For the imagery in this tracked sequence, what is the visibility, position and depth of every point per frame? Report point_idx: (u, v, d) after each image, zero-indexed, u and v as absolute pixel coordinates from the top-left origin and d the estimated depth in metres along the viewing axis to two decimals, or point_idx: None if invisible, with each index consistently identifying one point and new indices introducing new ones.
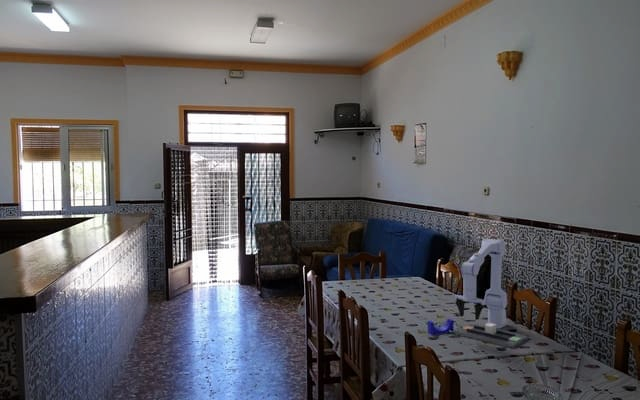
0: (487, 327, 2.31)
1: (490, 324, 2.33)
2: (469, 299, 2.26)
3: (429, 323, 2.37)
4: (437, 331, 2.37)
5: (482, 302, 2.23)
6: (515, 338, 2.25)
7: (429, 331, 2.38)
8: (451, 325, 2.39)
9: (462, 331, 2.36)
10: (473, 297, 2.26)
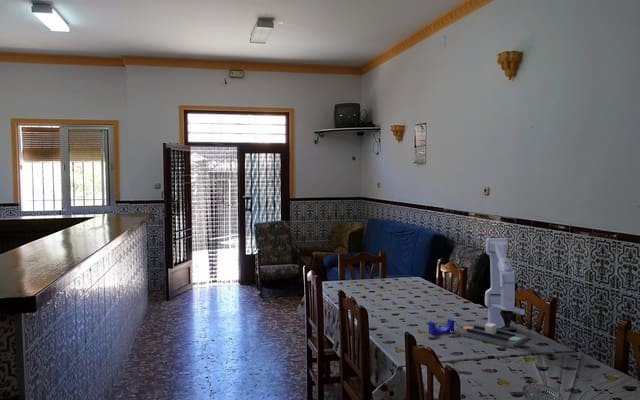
0: (487, 327, 2.31)
1: (490, 324, 2.33)
2: (508, 308, 2.23)
3: (430, 323, 2.37)
4: (438, 331, 2.37)
5: (521, 311, 2.21)
6: (515, 338, 2.25)
7: (430, 331, 2.37)
8: (452, 325, 2.39)
9: (462, 331, 2.36)
10: (512, 306, 2.24)
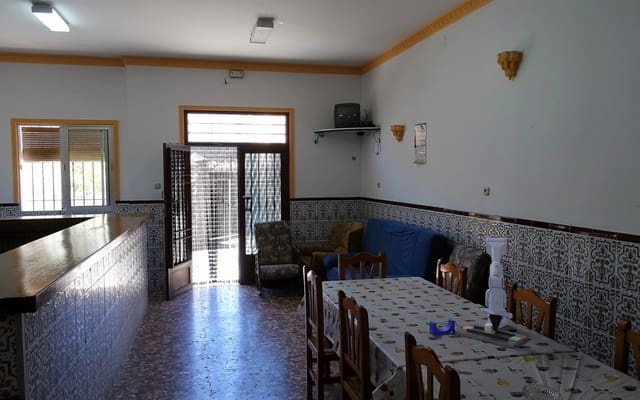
0: (486, 327, 2.31)
1: (489, 324, 2.33)
2: (496, 312, 2.28)
3: (431, 324, 2.36)
4: (439, 332, 2.36)
5: (509, 315, 2.25)
6: (515, 338, 2.25)
7: (431, 332, 2.36)
8: (453, 325, 2.38)
9: (462, 331, 2.36)
10: (500, 310, 2.28)
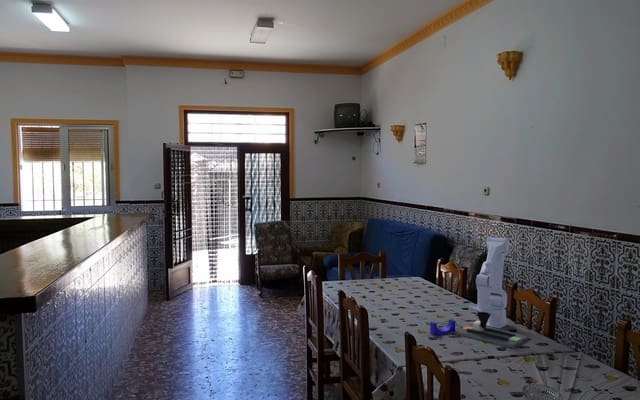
0: (475, 324, 2.35)
1: (478, 321, 2.37)
2: (483, 310, 2.32)
3: (432, 324, 2.36)
4: (440, 332, 2.36)
5: (496, 313, 2.29)
6: (515, 338, 2.25)
7: (432, 332, 2.36)
8: (453, 326, 2.38)
9: (462, 331, 2.36)
10: (487, 308, 2.32)
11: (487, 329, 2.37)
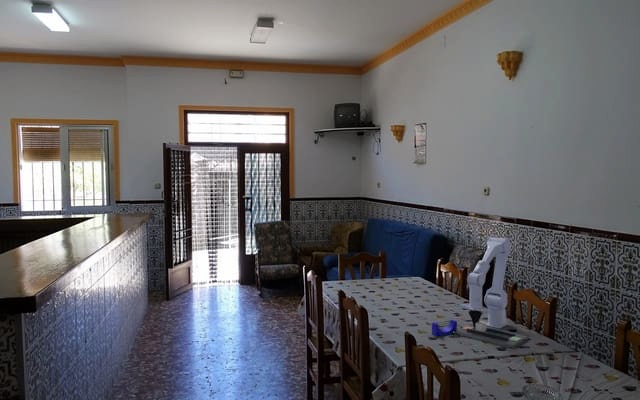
0: (477, 325, 2.34)
1: (480, 322, 2.36)
2: (475, 308, 2.35)
3: (433, 325, 2.35)
4: (441, 332, 2.35)
5: (488, 311, 2.32)
6: (515, 338, 2.25)
7: (433, 333, 2.35)
8: (455, 326, 2.38)
9: (462, 331, 2.36)
10: (479, 306, 2.35)
11: (487, 329, 2.37)
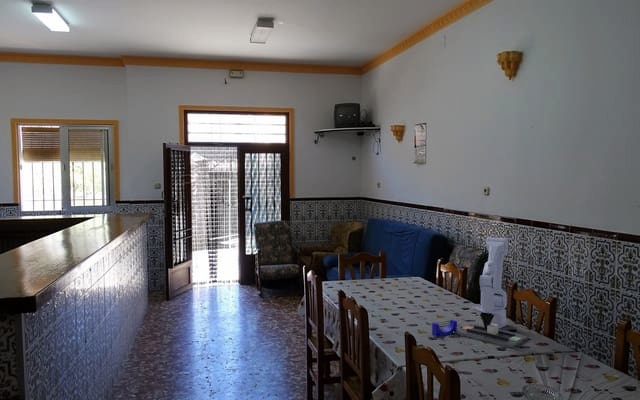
0: (489, 327, 2.30)
1: (492, 324, 2.32)
2: (487, 311, 2.30)
3: (434, 325, 2.35)
4: (442, 333, 2.35)
5: (500, 314, 2.28)
6: (515, 338, 2.25)
7: (434, 333, 2.35)
8: (455, 326, 2.38)
9: (462, 331, 2.36)
10: (491, 309, 2.31)
11: None
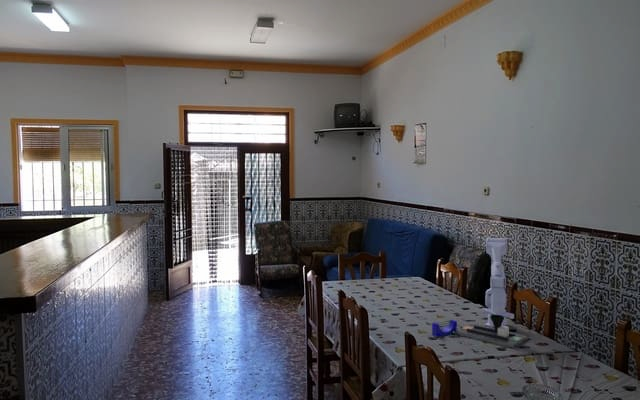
0: (500, 330, 2.27)
1: (503, 327, 2.29)
2: (497, 313, 2.27)
3: (434, 325, 2.34)
4: (442, 333, 2.35)
5: (511, 316, 2.24)
6: (515, 338, 2.25)
7: (434, 333, 2.35)
8: (455, 326, 2.38)
9: (462, 331, 2.36)
10: (501, 311, 2.27)
11: (487, 329, 2.37)
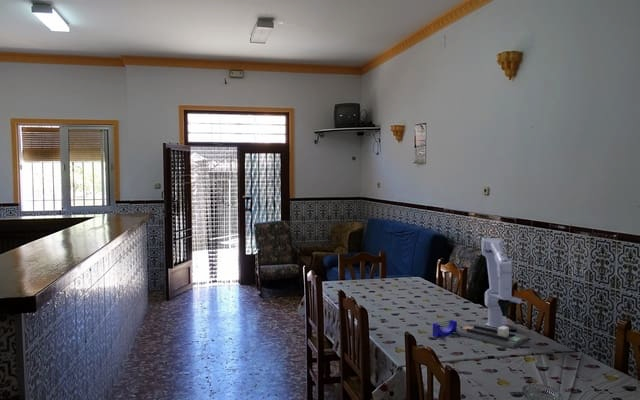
0: (500, 330, 2.27)
1: (503, 327, 2.29)
2: (505, 298, 2.30)
3: (435, 325, 2.34)
4: (442, 333, 2.34)
5: (518, 300, 2.28)
6: (515, 338, 2.25)
7: (435, 334, 2.34)
8: (455, 326, 2.38)
9: (462, 331, 2.36)
10: (509, 296, 2.31)
11: (487, 329, 2.37)
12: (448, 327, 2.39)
